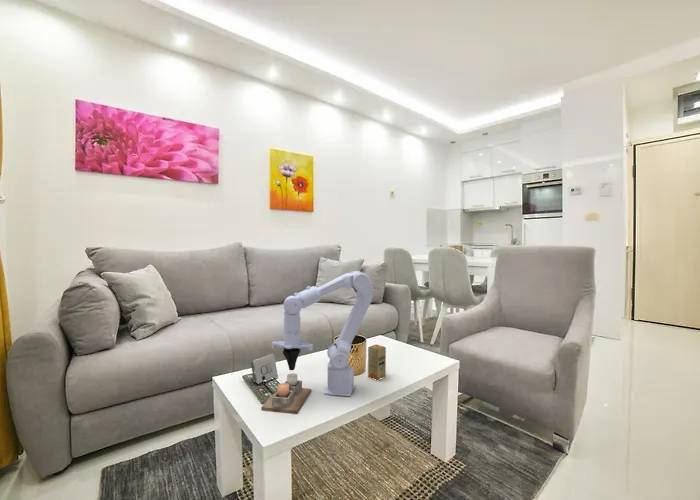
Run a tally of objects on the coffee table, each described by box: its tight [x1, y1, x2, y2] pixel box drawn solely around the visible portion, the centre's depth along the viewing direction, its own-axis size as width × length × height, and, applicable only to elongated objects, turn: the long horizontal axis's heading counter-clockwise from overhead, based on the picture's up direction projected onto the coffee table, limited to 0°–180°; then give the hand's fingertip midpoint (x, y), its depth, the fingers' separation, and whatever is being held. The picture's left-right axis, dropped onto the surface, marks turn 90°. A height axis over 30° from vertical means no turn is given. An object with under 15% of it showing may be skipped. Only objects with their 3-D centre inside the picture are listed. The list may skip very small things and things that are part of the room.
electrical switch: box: [250, 353, 279, 384], centre depth 121 cm, size 9×5×9 cm, turn 141°
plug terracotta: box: [277, 382, 289, 397], centre depth 101 cm, size 4×4×3 cm
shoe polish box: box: [367, 344, 387, 381], centre depth 124 cm, size 5×5×12 cm
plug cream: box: [286, 372, 298, 386], centre depth 109 cm, size 4×4×3 cm
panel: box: [260, 379, 312, 415], centre depth 105 cm, size 12×15×4 cm
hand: (292, 369), depth 109 cm, fingers closed
